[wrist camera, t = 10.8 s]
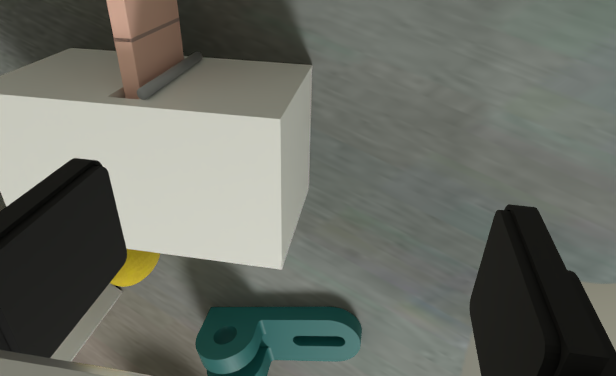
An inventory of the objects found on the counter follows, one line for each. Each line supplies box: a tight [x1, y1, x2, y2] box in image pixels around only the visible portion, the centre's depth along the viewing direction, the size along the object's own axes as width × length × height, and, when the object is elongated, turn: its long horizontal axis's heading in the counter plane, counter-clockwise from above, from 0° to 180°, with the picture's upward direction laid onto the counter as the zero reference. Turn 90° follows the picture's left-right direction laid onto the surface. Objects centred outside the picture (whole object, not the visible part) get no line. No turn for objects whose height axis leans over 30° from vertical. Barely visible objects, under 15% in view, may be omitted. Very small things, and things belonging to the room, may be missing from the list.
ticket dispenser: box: [0, 48, 312, 270], centre depth 37 cm, size 13×22×12 cm, turn 89°
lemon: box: [110, 249, 160, 287], centre depth 47 cm, size 6×6×8 cm
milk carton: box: [51, 283, 122, 362], centre depth 49 cm, size 7×7×19 cm
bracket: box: [196, 307, 362, 376], centre depth 51 cm, size 18×7×8 cm, turn 101°
